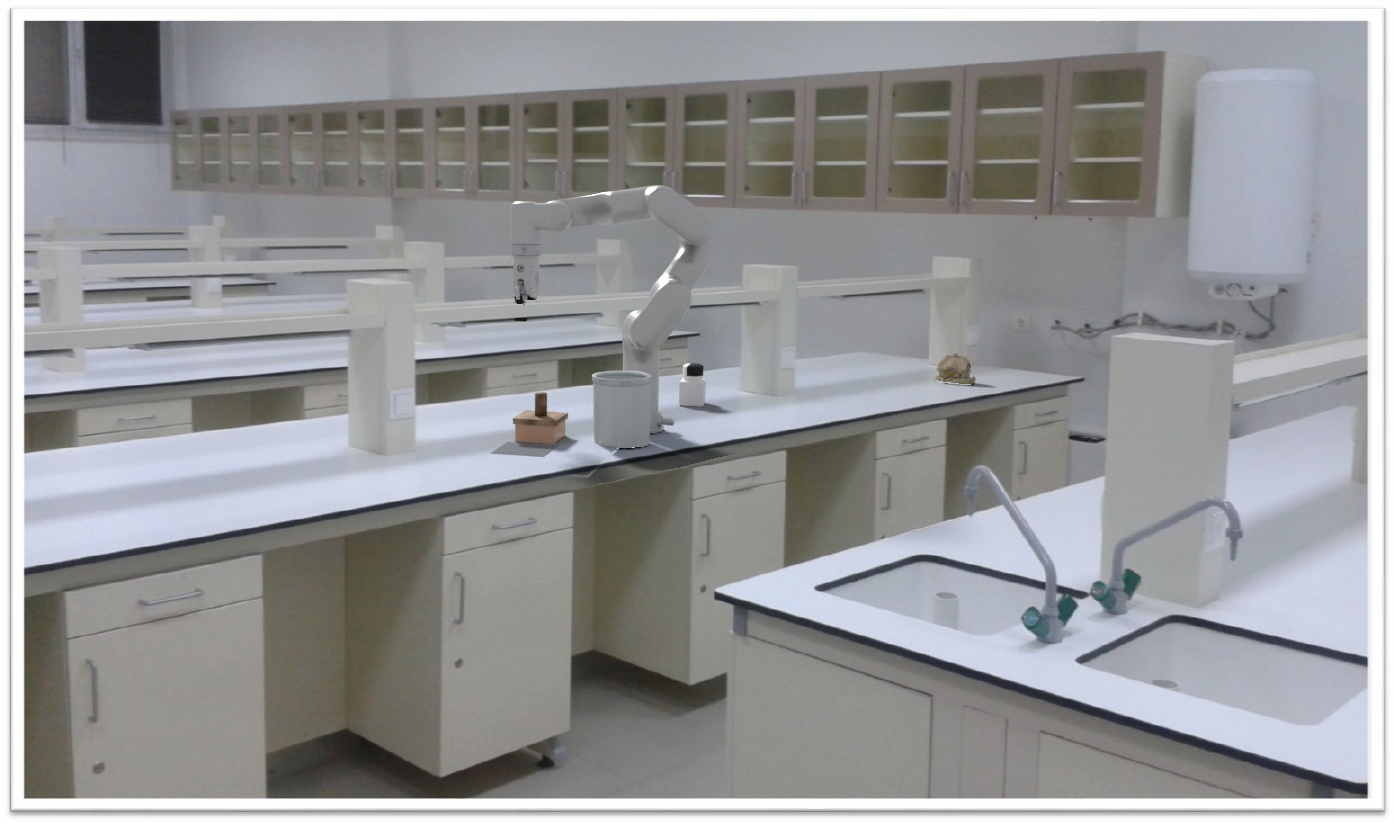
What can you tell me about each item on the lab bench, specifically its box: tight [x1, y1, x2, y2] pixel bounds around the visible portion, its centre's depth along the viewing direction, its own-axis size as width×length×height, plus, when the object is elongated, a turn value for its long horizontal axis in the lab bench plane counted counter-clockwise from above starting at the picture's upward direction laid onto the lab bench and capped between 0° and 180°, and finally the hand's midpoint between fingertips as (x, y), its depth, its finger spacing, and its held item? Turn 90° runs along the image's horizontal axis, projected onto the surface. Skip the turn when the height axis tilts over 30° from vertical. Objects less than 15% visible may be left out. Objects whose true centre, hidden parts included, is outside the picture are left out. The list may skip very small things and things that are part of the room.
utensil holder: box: [591, 370, 652, 448], centre depth 313 cm, size 15×15×18 cm
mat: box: [490, 441, 559, 458], centre depth 303 cm, size 13×13×1 cm
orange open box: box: [514, 420, 566, 445], centre depth 315 cm, size 10×10×5 cm
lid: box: [512, 391, 569, 427], centre depth 314 cm, size 11×11×7 cm
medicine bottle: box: [678, 362, 707, 408], centre depth 370 cm, size 7×7×12 cm
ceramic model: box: [934, 353, 976, 384], centre depth 424 cm, size 14×11×10 cm
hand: (525, 318), depth 320 cm, fingers open, 9 cm apart
